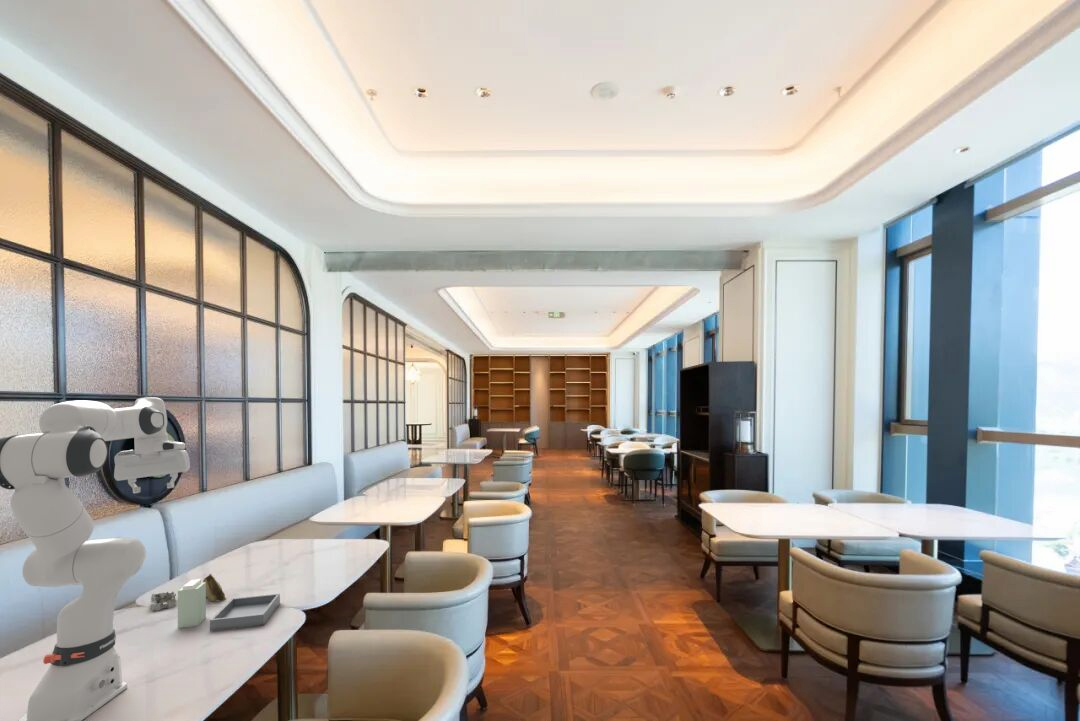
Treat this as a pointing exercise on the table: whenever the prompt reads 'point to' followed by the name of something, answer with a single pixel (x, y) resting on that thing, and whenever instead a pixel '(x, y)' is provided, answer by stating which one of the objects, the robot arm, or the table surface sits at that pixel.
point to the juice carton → (192, 603)
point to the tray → (245, 612)
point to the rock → (213, 589)
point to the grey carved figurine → (163, 600)
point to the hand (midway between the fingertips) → (153, 490)
